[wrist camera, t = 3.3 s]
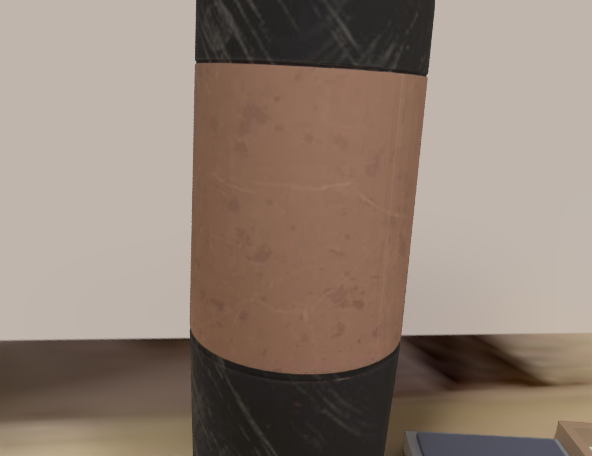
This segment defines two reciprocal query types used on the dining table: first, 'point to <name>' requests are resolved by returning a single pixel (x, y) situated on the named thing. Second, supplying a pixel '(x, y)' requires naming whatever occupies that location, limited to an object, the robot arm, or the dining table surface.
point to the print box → (575, 437)
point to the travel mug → (302, 220)
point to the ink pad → (478, 445)
